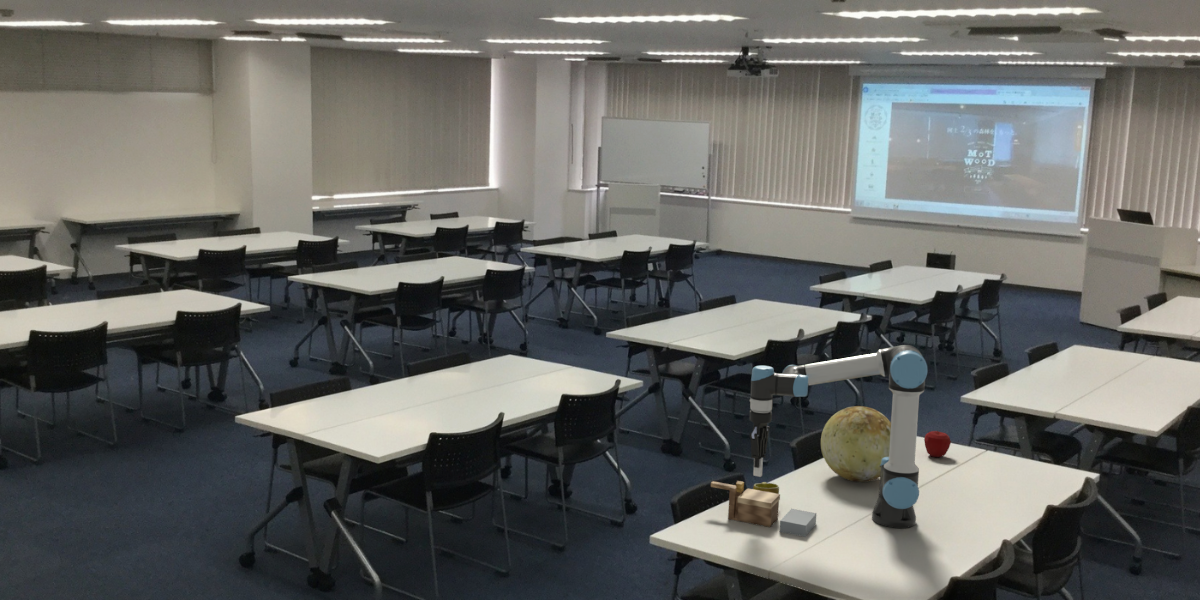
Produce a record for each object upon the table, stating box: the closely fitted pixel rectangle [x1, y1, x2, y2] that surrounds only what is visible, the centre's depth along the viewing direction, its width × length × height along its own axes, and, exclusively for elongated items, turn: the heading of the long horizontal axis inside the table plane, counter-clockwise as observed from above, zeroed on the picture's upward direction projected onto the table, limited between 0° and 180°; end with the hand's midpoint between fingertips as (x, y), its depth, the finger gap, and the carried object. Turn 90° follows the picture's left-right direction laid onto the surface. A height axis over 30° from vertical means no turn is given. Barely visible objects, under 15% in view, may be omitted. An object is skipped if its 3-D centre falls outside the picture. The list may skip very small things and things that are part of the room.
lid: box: [738, 488, 781, 509], centre depth 366 cm, size 12×11×3 cm
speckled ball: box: [820, 405, 891, 483], centre depth 414 cm, size 30×30×30 cm
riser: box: [779, 508, 817, 538], centre depth 360 cm, size 9×14×4 cm, turn 154°
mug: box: [752, 481, 780, 494], centre depth 382 cm, size 12×10×10 cm
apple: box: [923, 430, 952, 458], centre depth 451 cm, size 11×11×12 cm
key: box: [710, 480, 745, 493], centre depth 370 cm, size 12×3×3 cm, turn 64°
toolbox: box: [727, 480, 780, 528], centre depth 367 cm, size 16×9×12 cm, turn 64°
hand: (757, 475), depth 365 cm, fingers closed
